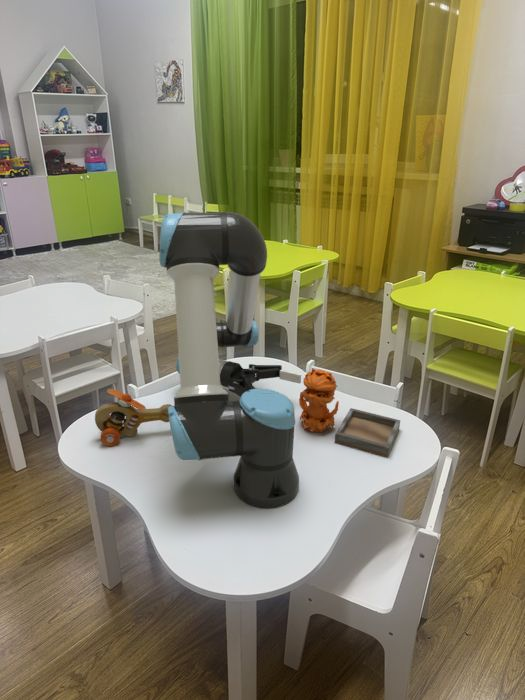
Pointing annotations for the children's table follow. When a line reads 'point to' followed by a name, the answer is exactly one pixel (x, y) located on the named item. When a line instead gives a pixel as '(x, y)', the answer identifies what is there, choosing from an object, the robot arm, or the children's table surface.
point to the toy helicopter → (118, 423)
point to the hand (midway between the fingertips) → (291, 389)
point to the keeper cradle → (368, 432)
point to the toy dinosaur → (318, 400)
